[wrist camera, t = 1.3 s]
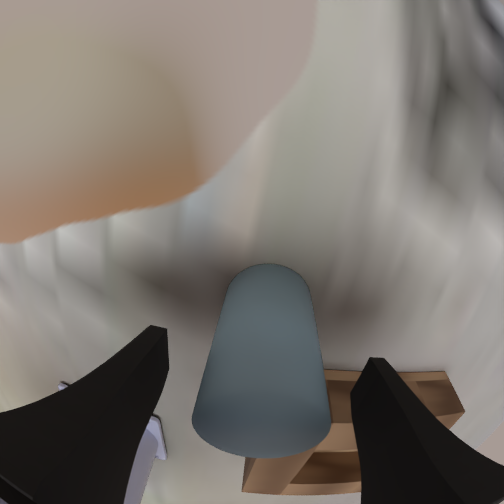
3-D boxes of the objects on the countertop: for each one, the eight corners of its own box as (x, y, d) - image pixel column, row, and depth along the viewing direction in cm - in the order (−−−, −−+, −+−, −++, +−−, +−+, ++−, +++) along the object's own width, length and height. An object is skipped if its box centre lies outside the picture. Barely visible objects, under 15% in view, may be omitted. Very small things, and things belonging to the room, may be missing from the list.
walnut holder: (245, 454, 20) (241, 491, 16) (273, 364, 15) (271, 419, 12) (374, 456, 20) (380, 489, 16) (445, 371, 15) (465, 411, 11)
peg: (222, 327, 14) (192, 448, 8) (230, 257, 13) (191, 377, 6) (300, 339, 14) (308, 461, 8) (319, 271, 13) (352, 396, 6)
